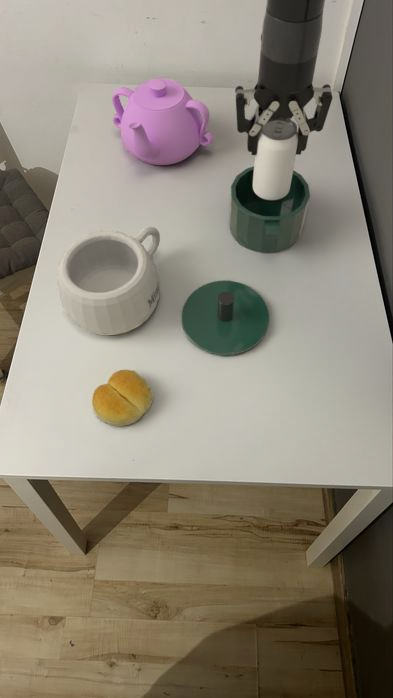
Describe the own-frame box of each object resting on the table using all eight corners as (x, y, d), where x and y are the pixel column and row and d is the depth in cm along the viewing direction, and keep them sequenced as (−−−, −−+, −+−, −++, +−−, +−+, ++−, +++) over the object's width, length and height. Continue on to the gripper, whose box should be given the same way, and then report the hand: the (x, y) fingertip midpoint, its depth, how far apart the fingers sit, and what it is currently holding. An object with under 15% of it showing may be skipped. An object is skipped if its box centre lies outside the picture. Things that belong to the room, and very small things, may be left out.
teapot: (91, 176, 102) (75, 115, 90) (131, 111, 112) (121, 48, 100) (193, 198, 98) (190, 138, 86) (224, 129, 108) (226, 66, 96)
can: (249, 198, 85) (253, 138, 75) (255, 173, 88) (261, 111, 78) (286, 204, 84) (296, 144, 74) (292, 178, 88) (302, 117, 77)
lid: (265, 283, 88) (269, 261, 82) (271, 356, 81) (275, 337, 75) (182, 284, 88) (181, 262, 83) (180, 357, 81) (178, 337, 76)
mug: (117, 358, 81) (106, 325, 72) (45, 308, 86) (26, 271, 78) (197, 273, 89) (195, 235, 81) (126, 232, 95) (118, 191, 86)
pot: (297, 188, 99) (304, 153, 92) (306, 264, 90) (315, 231, 82) (228, 189, 99) (229, 154, 92) (230, 265, 90) (232, 232, 83)
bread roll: (84, 404, 77) (78, 393, 74) (128, 367, 80) (124, 355, 77) (118, 440, 74) (113, 430, 71) (163, 400, 77) (160, 390, 74)
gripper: (235, 62, 64) (231, 168, 78) (349, 60, 63) (323, 167, 78) (234, 30, 67) (230, 136, 82) (341, 27, 67) (318, 135, 82)
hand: (275, 151), depth 80 cm, fingers closed on can, 6 cm apart
